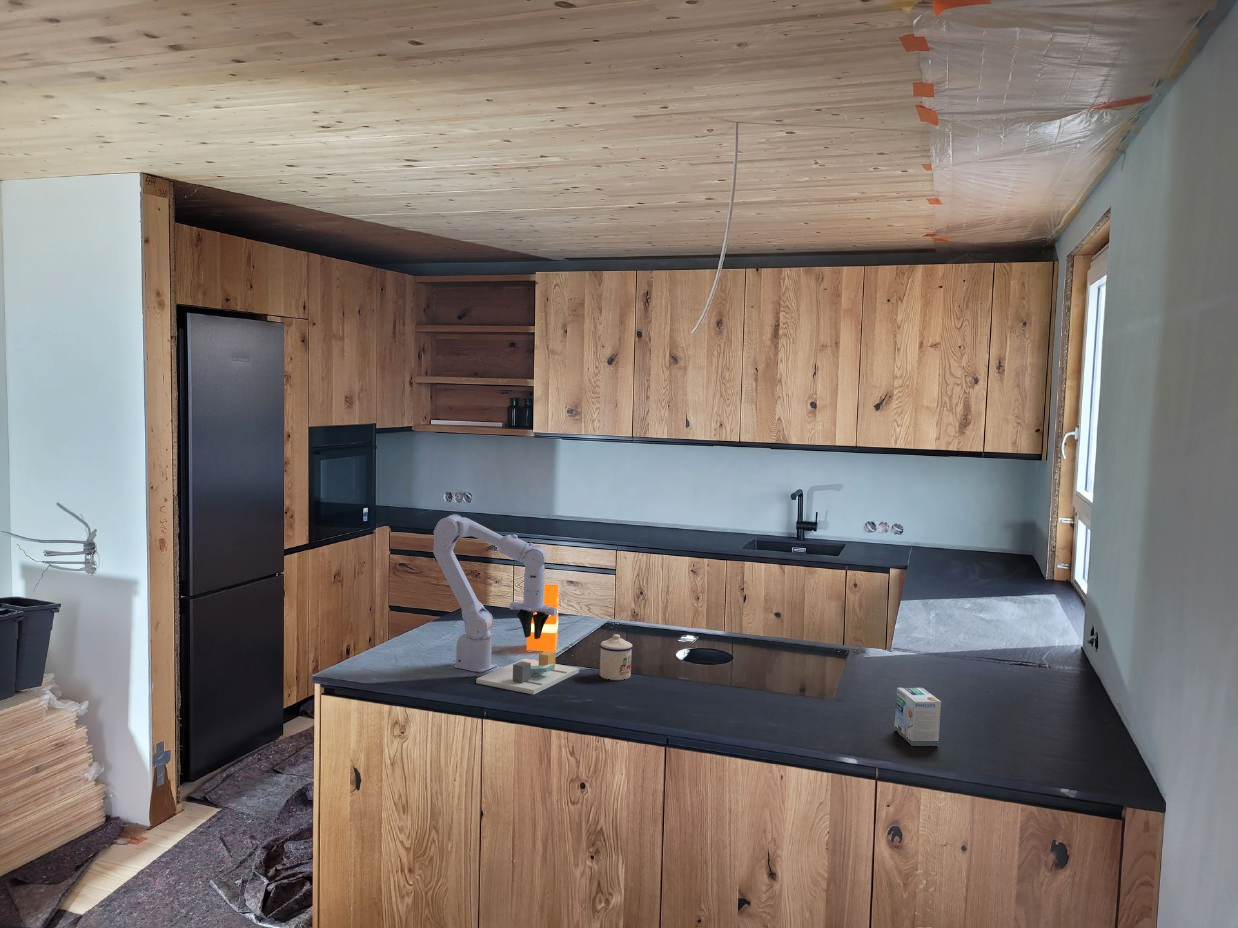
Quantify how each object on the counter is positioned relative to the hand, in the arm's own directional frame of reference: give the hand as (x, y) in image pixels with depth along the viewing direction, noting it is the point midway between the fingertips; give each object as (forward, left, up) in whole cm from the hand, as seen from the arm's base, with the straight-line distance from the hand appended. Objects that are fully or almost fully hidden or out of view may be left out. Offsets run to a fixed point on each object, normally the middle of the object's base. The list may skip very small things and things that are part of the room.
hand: (532, 637), depth 258 cm
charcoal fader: (+5, -13, -8) cm, 16 cm away
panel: (+3, -6, -9) cm, 12 cm away
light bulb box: (+104, +3, -10) cm, 104 cm away
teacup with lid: (+22, +10, -10) cm, 26 cm away
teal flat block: (+6, -7, -6) cm, 11 cm away
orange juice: (-10, +22, -10) cm, 26 cm away
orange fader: (+5, 0, -8) cm, 9 cm away
